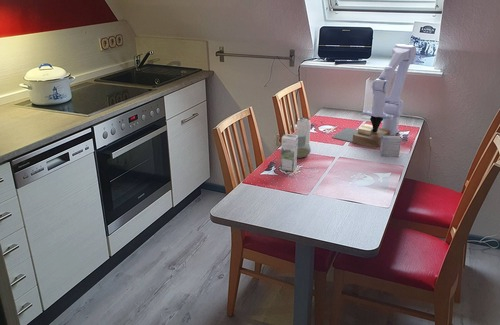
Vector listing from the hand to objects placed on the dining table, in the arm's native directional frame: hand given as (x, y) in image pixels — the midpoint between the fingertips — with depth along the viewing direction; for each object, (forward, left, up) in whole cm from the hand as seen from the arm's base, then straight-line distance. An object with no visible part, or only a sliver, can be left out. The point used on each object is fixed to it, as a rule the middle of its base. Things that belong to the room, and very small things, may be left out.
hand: (375, 131), depth 222 cm
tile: (0, -4, -1) cm, 4 cm away
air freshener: (+39, -21, -5) cm, 44 cm away
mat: (0, -13, -5) cm, 14 cm away
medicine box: (+14, +12, -5) cm, 19 cm away
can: (+24, -27, -5) cm, 36 cm away
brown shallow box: (0, -2, -5) cm, 5 cm away
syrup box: (+54, -17, -5) cm, 57 cm away
